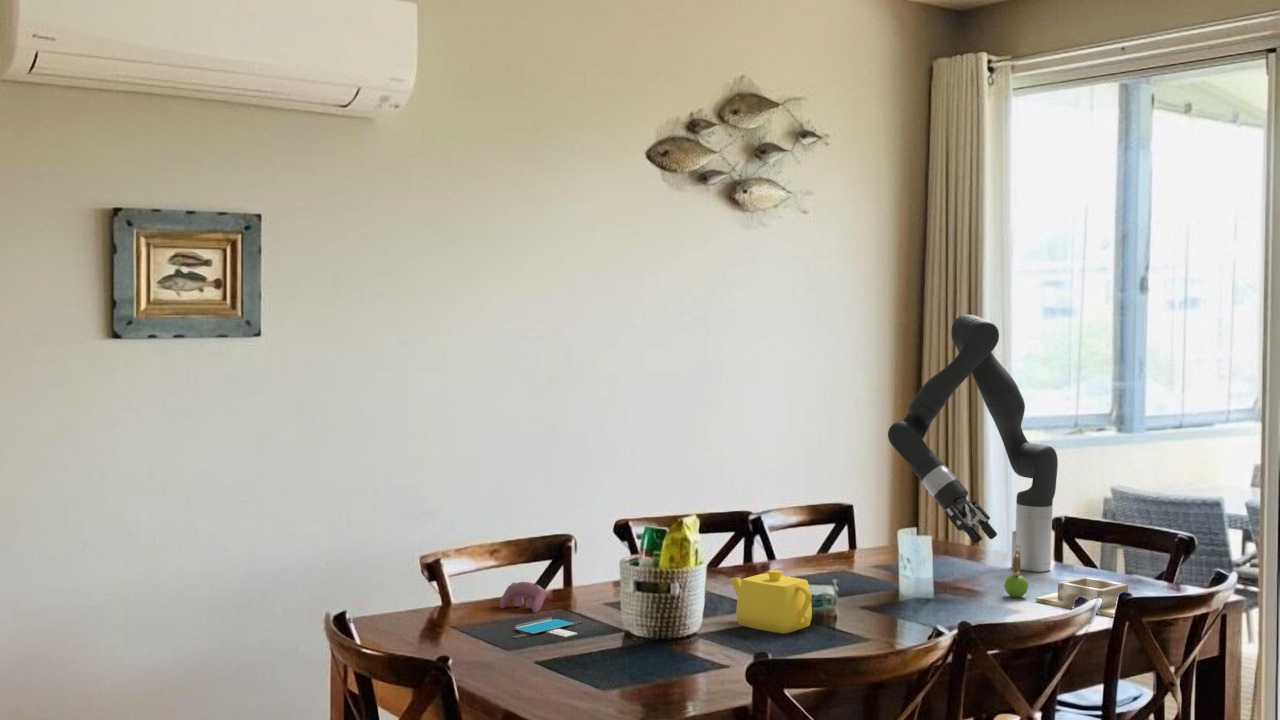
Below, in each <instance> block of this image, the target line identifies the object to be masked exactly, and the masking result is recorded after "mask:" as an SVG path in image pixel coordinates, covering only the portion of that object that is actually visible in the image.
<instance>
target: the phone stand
mask: <svg viewBox="0 0 1280 720" xmlns="http://www.w3.org/2000/svg"><path fill="white" fill-rule="evenodd" d="M581 623H583V621H582V620H576V621H572V622H570V621H566V620H563V619H559V618H554V619H553V617H552V616H549V617H544V618H540V619H536V620H532V621H528V622H523V623H518V624H515V626H514V627H513V628H514V630H515V631H517V632H518V633H520V634H516V635H514V636H511V638H515V639H519V638H522V637H523V638H525V637H529V636H534V635H538V634H541V633H547V634H551V635H556V636H559V637H564V638H567V637H572V636H575V635H578V632H575V631H570V630H566V629H562V628H567V627H571V626H575V625H578V624H581Z"/></svg>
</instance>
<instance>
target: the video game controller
mask: <svg viewBox="0 0 1280 720" xmlns="http://www.w3.org/2000/svg"><path fill="white" fill-rule="evenodd" d="M547 595H548V594H547V591H546V589H545V588H543V587H541V586H540V585H539V584H537V583H534V582H530V581H520V582H511V584H509V585H508V586H507V587H506V590H505V591H504V593H503V594H502V596H501V598H500V600H499V608H500V609H505V608H506V607H508V605H509V604H510V603H511V602H512V604H513V605H514V606H515V607H517V608H521V607H523V606H524V605H525V607H526V608H527V609H530V610H532V613H534V614H536V613H538V612H539V611H540V610H541V608H542V606H543V604H544V601H545V600H546V598H547ZM524 596H525V597H527V599H526V600H525V599H524V598H523V597H524Z"/></svg>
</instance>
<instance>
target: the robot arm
mask: <svg viewBox="0 0 1280 720" xmlns="http://www.w3.org/2000/svg"><path fill="white" fill-rule="evenodd" d="M950 333H951V339H952V342H953V344H954V345H955V348H956V349H957V351H958V352H959V353H958V354H957V356H956V357H955V358H954V359H953V360H952V361H951V362H950V363H949V364H948V365H947V366H945V367H944V368H942V369H941V370H940V371H939V372H937V373H936V374H935V375H933V376H932V377H931V378H929V379H928V380H927V381H926V382H925V383H924V384H923V385H922V387H921V388H920V389H919V391H918V393H917V394H916V395H915V396H914V398H913V399H912V401H911V402H910V404H909V406H908V412H907V415H906V416H905V418H904V419H903V420H902V421H897V422H894V423H892V425H891V426H890V427H889V428H888V432H887V438H888V441H889V443H890V444H891V446H892V447H893V448H894V449H895V451H896V452H897V453H898V454H899V455H900V456H901V457H902V458H903V459H904V460H905V462H907V464H908V465H909V466H910V468H911V469H912V471H913V473H914V474H915V476H917V477H918V479H919V480H920V482H921V483H922V484H923V485H924V487H925V489H926V490H927V491H928V493H929V494H930V495H931V497H932V498H933V499H934V500H935V502H937V504H938V505H939V506H940V508H941V509H942V510H943V511H944V514H945V515H946V516H947V518H948V519H949V520H950V522H951V523H952V524H953V526H954V527H955V529H956V530H957V531H959V532H961V531H962V532H963V533H966V535H967V536H968V537H969V538H970V540H971V541H972V542H973V543H974V544H979V543H980V542H981V541H982V540H983V536H982V535H981V534H980V533H979V531H978V530H976V528H975V527H974V526H973V525H977V526H978V527H979V528H980V529H981V530H982V532H983V533H984V534H985V535H986V537H988V539H989V540H993V539H994V538H996V537H997V536H998V532H996V531H997V530H995V529H994V528H993V526H992V525H991V523H989V520H991V517H990V516H989V514H988V513H987V512H986V511H985V510H984V508H982V506H981V505H980V504H979V503H978V502H977V501H976V500H973V501H972V502H970V501H969V500H968V499H967V497H968V496H969V491H968V490H967V488H966V487H964V485H963V483H961V481H960V480H959V479H958V478H957V476H956V475H955V474H954V473H953V472H952V470H950V469H949V468H948V467H947V466H946V465H945V464H944V462H943V461H942V460H941V459H940V457H939V456H938V455H937V454H936V453H935V452H934V451H933V450H932V449H931V448H930V447H929V446H928V445H927V444H926V442H925V441H924V438H925V436H926V434H927V432H928V431H929V428H930V426H931V425H932V422H933V421H934V420H935V418H936V417H937V416H938V414H939V413H940V412H941V410H942V409H943V407H944V406H945V404H946V403H947V402H948V400H949V398H951V396H952V395H953V394H954V393H955V391H956V390H957V389H958V388H959V387H960V386H961V384H962V383H963V382H964V381H965V380H966V379H967V378H968V377H969V376H970V375H972V377H973V379H974V381H975V385H976V386H977V389H978V390H979V392H980V394H981V397H982V399H983V402H984V404H985V406H986V408H987V410H988V412H989V414H990V416H991V418H992V420H993V422H994V424H995V427H996V429H997V430H998V433H999V436H1000V438H1001V440H1002V443H1003V445H1004V449H1005V452H1006V455H1007V458H1008V461H1009V463H1010V466H1011V469H1012V470H1013V472H1014V473H1015V474H1016V475H1017V476H1020V477H1022V478H1027V479H1032V481H1031V487H1029V488H1028V489H1025V490H1022V491H1018V492H1017V494H1016V504H1015V505H1016V508H1015V530H1013V531H1012V532H1011V555H1010V557H1011V558H1010V559H1011V561H1010V567H1011V568H1013V558H1014V556H1015V555H1016V554H1015V552H1016V550H1020V552H1021V555H1020V559H1021V571H1025V572H1026V571H1027V572H1038V573H1039V572H1049V571H1051V564H1052V563H1051V562H1052V561H1051V558H1052V536H1053V535H1052V533H1053V532H1052V531H1053V505H1054V504H1053V502H1054V497H1055V494H1056V489H1057V488H1056V487H1057V477H1058V467H1059V466H1058V464H1059V463H1058V461H1059V460H1058V454H1057V451H1056V450H1055V449H1054V447H1053V446H1052V445H1047V444H1042V443H1041V444H1040V443H1039V444H1038V443H1030V442H1029V440H1028V439H1027V437H1026V436H1025V434H1024V432H1023V428H1022V423H1023V420H1024V416H1025V411H1026V410H1025V409H1026V405H1025V400H1024V397H1023V395H1022V393H1021V391H1020V388H1019V386H1018V385H1017V383H1016V380H1014V378H1013V377H1012V375H1011V374H1010V373H1009V372H1008V371H1007V369H1006V368H1005V367H1004V366H1003V365H1002V363H1000V362H999V360H998V359H997V358H996V356H995V355H994V353H993V351H994V349H995V348H996V346H997V345H998V342H999V339H1000V332H999V329H998V327H997V324H995V323H993V322H992V321H989V320H987V319H985V318H982V317H980V316H977V315H974V314H963V315H960V316H957V318H956V319H955V320H954V321H953V323H952V326H951V332H950ZM1016 545H1018V547H1016ZM1019 545H1021V547H1019Z"/></svg>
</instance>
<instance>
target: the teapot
mask: <svg viewBox="0 0 1280 720" xmlns="http://www.w3.org/2000/svg"><path fill="white" fill-rule="evenodd" d="M730 581H731V583H732V586H733V590H734V591H735V594H736V596H737V600H736V612H735V616H736V620H737V624H738V625H739V626H742V627H746V628H749V629H755V630H760V631H765V632H771V633H776V634H789V633H793V632H796V631H799V630H802V629H806V628H807V627H810V625H811V621H812V616H813V611H812V610H813V608H812V598H813V597H812V593H811V591H810V586H809V581H808V580H807V579H804V578H798V577H793V576H788V575H783V571H781V570H779V569H770V570H768V571H767V573H766V572H765V573H760V574H757V575H752V576H748V577H745V578H742V579H741V577H740V576H739V577H732V578H730Z"/></svg>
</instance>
